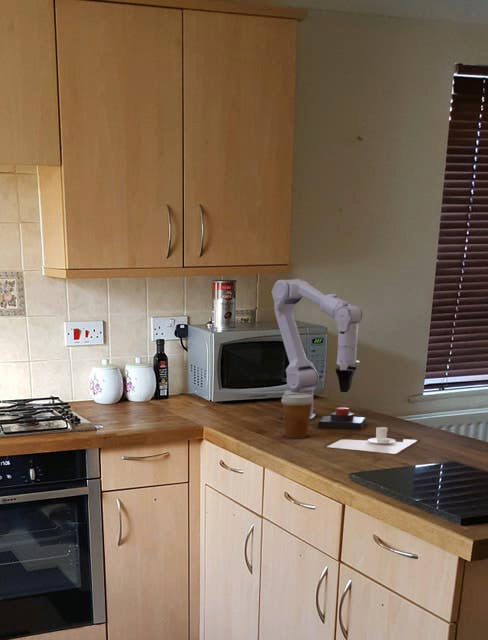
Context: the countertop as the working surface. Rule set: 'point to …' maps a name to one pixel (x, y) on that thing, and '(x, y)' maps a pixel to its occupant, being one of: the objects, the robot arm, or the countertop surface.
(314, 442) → the countertop surface
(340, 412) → the red push button
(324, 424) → the control block
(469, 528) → the countertop surface
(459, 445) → the countertop surface
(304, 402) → the disposable coffee cup
